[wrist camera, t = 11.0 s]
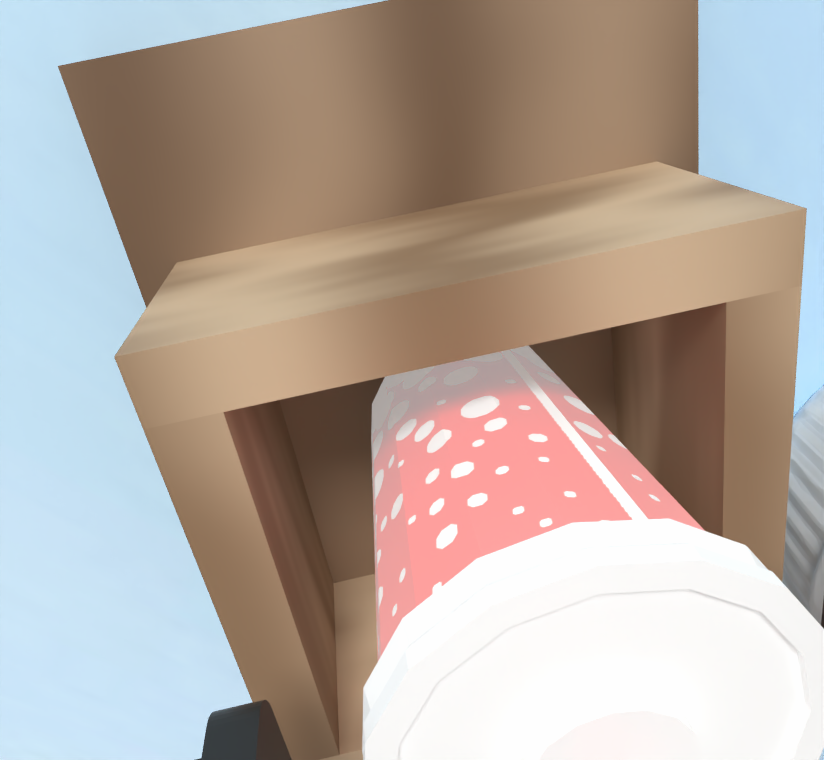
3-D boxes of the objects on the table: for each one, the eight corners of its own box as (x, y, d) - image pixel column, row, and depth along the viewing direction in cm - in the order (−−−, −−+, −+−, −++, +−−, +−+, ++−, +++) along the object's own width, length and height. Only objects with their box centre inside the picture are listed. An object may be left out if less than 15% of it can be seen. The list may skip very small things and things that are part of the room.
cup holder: (662, -51, 15) (897, -122, 9) (676, 603, 22) (804, 798, 16) (82, 65, 14) (-83, 72, 8) (303, 690, 22) (299, 923, 16)
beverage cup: (315, 509, 17) (318, 1720, 5) (367, 271, 15) (649, 1417, 2) (545, 538, 19) (1029, 1550, 6) (626, 323, 16) (1697, 1248, 4)
